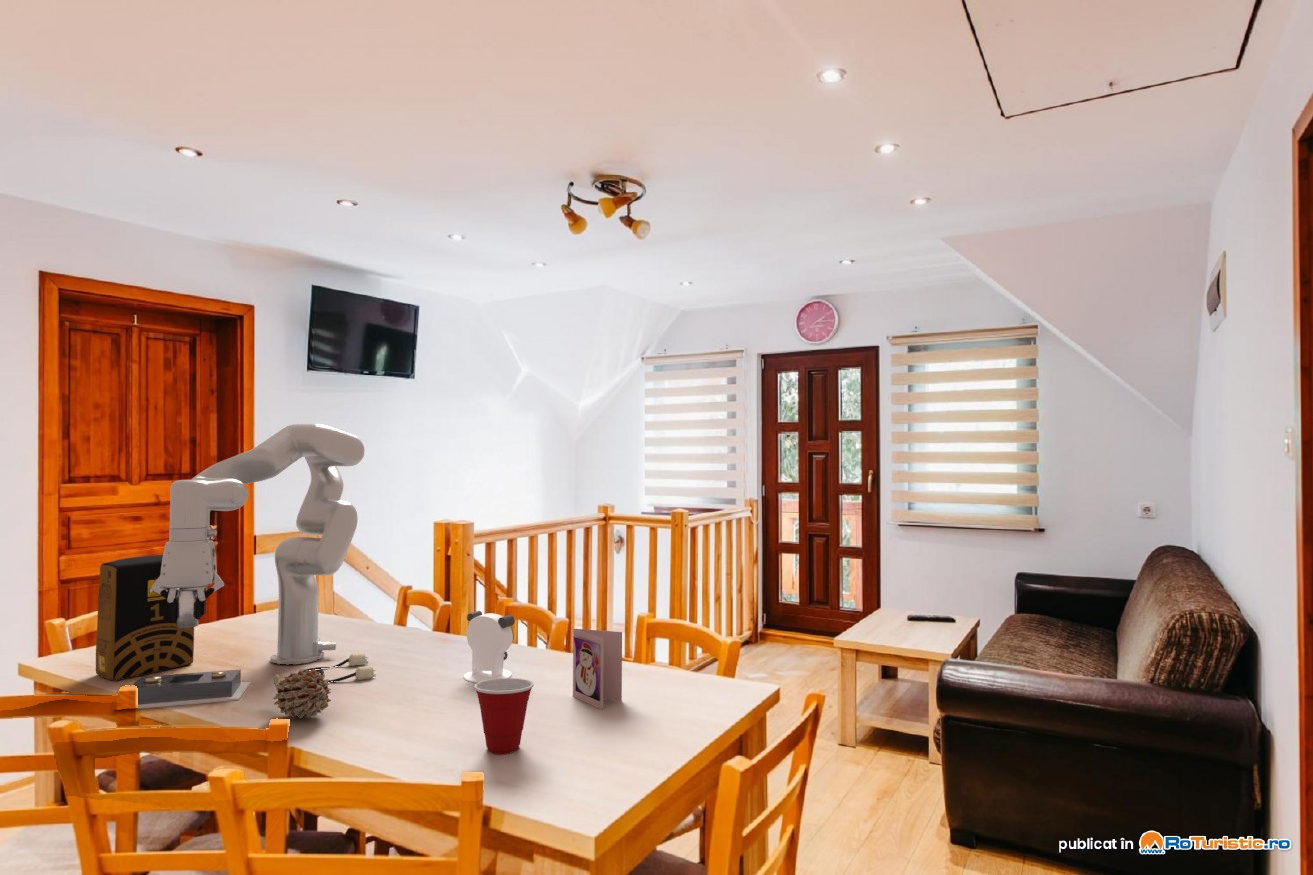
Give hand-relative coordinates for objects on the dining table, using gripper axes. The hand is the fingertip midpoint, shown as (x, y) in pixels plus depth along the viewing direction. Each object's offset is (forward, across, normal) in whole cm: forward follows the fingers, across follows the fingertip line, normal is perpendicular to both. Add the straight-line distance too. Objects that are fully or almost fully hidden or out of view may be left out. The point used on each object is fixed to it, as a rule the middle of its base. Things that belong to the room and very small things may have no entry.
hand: (187, 617), depth 165 cm
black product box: (+17, +15, -26) cm, 35 cm away
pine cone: (+17, -24, +19) cm, 35 cm away
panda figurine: (+17, -65, +4) cm, 67 cm away
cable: (+18, -31, -8) cm, 37 cm away
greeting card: (+17, -86, +29) cm, 92 cm away
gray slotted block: (+17, 0, 0) cm, 17 cm away
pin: (+2, 0, 0) cm, 2 cm away
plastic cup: (+17, -63, +50) cm, 82 cm away
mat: (+17, 0, 0) cm, 17 cm away
